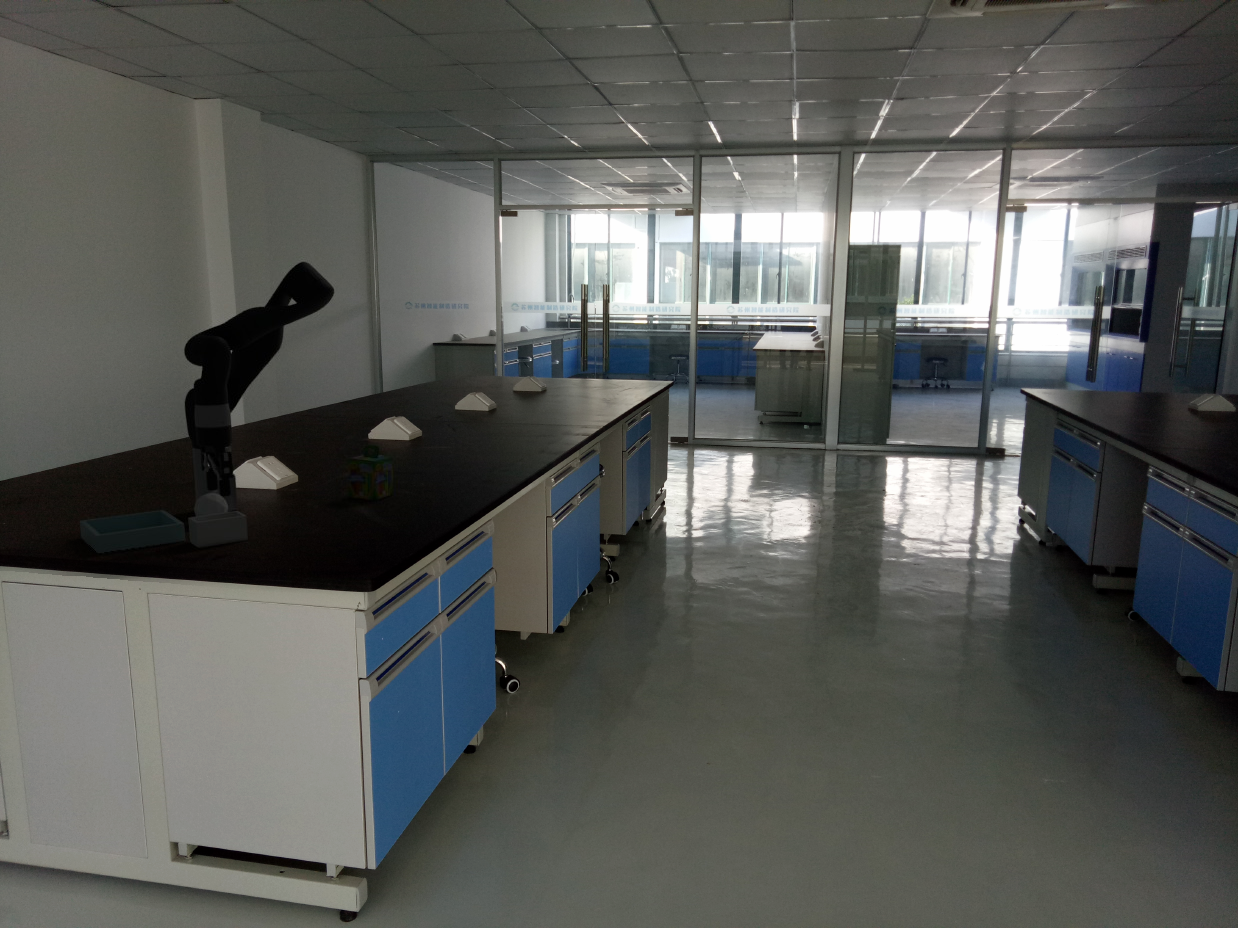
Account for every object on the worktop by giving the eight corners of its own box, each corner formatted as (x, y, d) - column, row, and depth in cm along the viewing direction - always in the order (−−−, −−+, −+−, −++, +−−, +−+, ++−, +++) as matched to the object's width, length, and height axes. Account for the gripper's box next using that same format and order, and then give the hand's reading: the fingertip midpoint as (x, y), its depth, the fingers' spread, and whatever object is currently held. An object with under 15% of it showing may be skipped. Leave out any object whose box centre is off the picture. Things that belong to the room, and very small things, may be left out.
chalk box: (348, 498, 253) (346, 447, 250) (367, 492, 261) (365, 442, 259) (375, 501, 250) (373, 449, 247) (394, 494, 258) (393, 444, 256)
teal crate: (164, 527, 220) (163, 509, 219) (185, 542, 207) (184, 523, 207) (81, 539, 208) (79, 520, 207) (98, 555, 196) (96, 536, 195)
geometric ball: (203, 533, 223) (185, 507, 223) (233, 518, 228) (215, 492, 228) (206, 525, 217) (188, 498, 217) (236, 509, 222) (218, 483, 222)
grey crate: (238, 535, 213) (237, 510, 212) (247, 540, 209) (246, 515, 208) (190, 542, 206) (188, 517, 205) (198, 548, 202) (196, 522, 201)
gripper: (241, 425, 200) (246, 495, 203) (219, 419, 210) (224, 486, 213) (206, 428, 195) (212, 500, 198) (186, 421, 205) (191, 490, 208)
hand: (218, 493), depth 206 cm, fingers open, 8 cm apart
